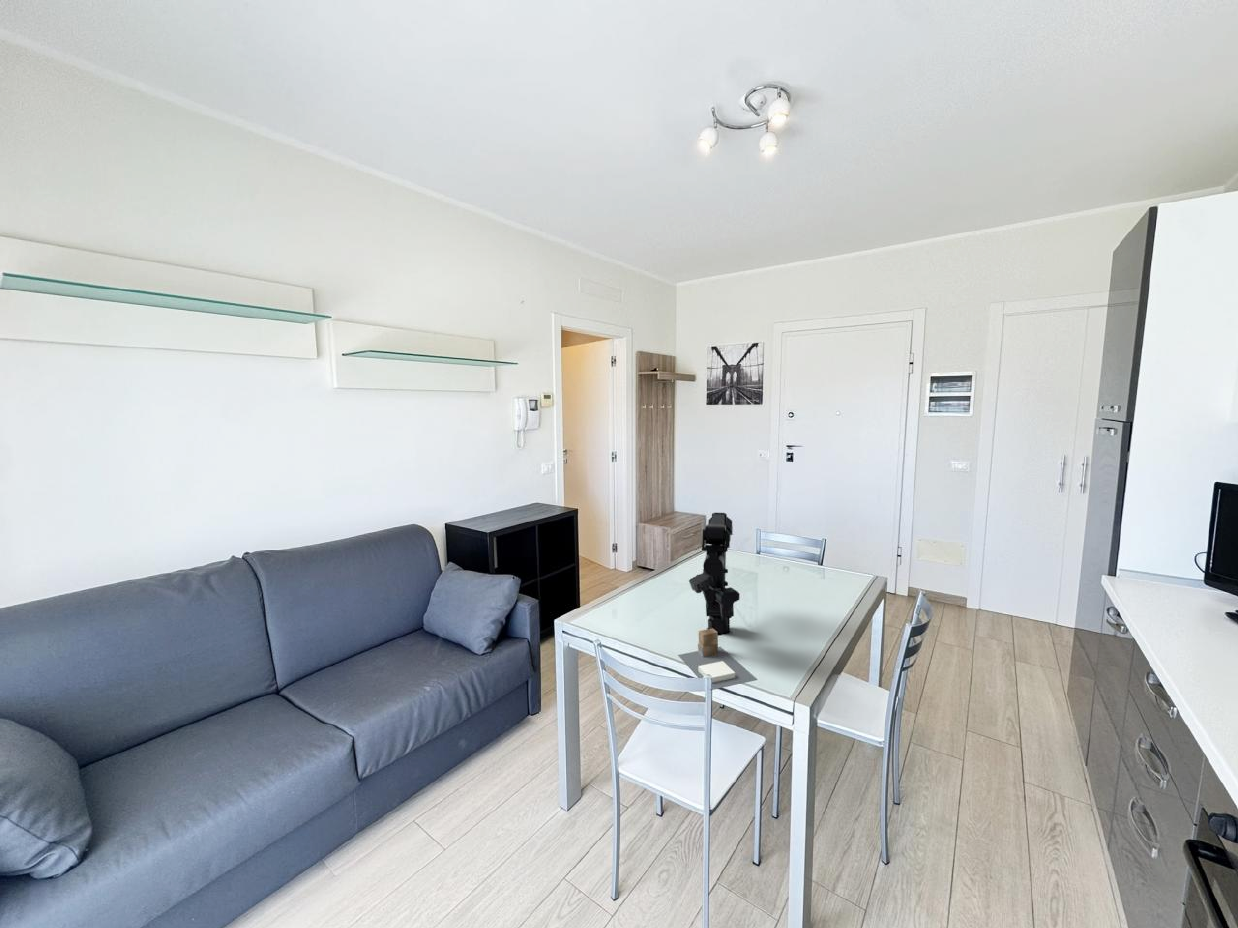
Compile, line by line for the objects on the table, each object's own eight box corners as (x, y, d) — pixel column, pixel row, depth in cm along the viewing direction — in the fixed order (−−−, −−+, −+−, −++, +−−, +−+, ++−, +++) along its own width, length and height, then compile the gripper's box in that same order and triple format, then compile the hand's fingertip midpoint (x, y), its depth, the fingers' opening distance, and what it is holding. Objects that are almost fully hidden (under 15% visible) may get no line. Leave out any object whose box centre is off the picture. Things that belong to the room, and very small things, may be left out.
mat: (720, 647, 160) (720, 646, 160) (757, 680, 140) (757, 679, 140) (677, 656, 155) (677, 654, 155) (709, 691, 135) (709, 690, 135)
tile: (722, 661, 147) (698, 666, 145) (735, 672, 141) (709, 677, 138) (722, 665, 148) (698, 671, 145) (735, 677, 141) (709, 683, 139)
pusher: (713, 649, 158) (712, 628, 157) (717, 653, 155) (717, 632, 154) (698, 652, 156) (697, 631, 155) (702, 656, 153) (702, 635, 153)
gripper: (679, 560, 162) (680, 606, 164) (706, 578, 144) (707, 629, 146) (710, 556, 165) (711, 601, 167) (740, 573, 148) (740, 623, 150)
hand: (716, 613), depth 157 cm, fingers open, 9 cm apart
